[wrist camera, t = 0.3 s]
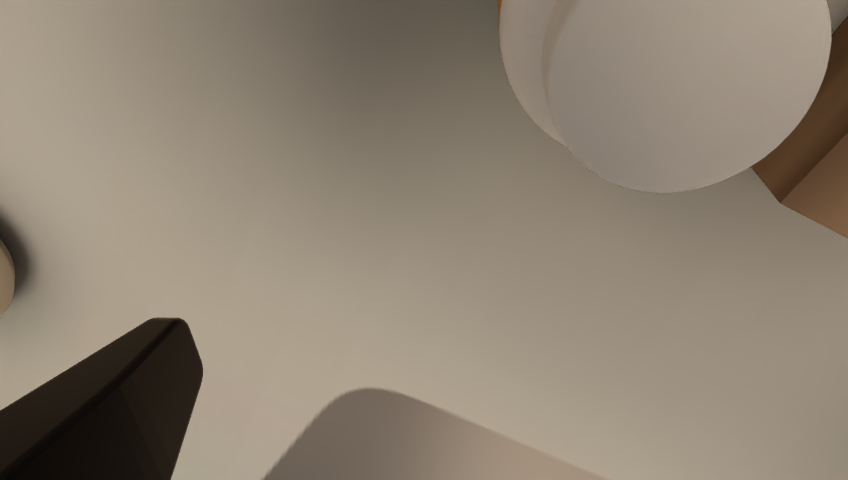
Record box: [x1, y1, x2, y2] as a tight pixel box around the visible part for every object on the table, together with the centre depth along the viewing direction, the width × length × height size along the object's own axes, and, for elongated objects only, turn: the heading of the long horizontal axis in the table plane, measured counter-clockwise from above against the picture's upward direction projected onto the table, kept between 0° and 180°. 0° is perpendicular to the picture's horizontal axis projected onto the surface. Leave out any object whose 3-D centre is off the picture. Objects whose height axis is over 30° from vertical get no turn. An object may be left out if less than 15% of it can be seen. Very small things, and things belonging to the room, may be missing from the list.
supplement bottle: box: [498, 0, 832, 193], centre depth 13 cm, size 5×5×10 cm
